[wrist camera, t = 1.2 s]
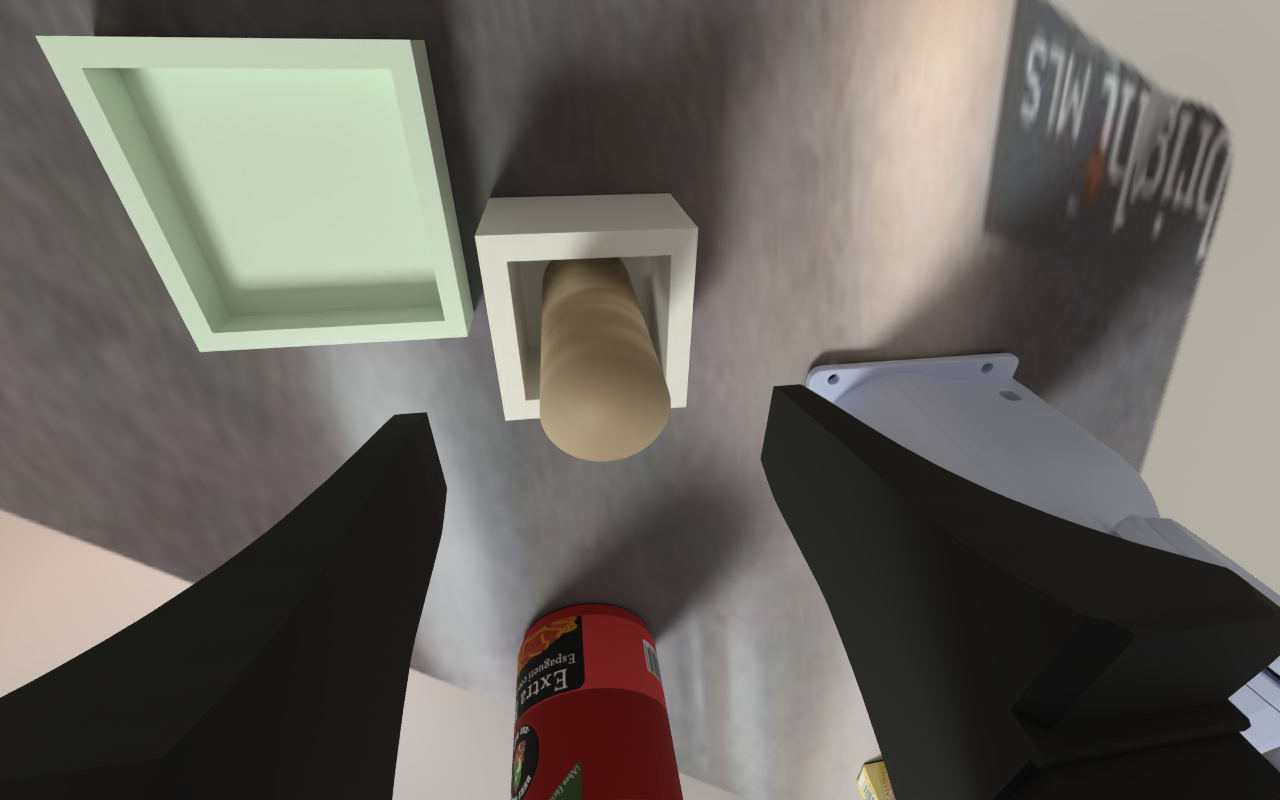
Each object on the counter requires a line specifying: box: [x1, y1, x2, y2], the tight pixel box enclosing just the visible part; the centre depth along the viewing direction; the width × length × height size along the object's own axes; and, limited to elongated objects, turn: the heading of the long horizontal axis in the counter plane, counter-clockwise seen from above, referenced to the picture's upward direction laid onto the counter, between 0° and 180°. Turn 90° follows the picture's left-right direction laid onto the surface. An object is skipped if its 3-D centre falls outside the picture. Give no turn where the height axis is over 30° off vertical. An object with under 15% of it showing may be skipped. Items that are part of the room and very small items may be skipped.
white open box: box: [475, 193, 698, 421], centre depth 17 cm, size 6×6×4 cm
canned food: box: [511, 604, 683, 800], centre depth 26 cm, size 8×8×11 cm
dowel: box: [540, 257, 671, 461], centre depth 15 cm, size 3×3×8 cm
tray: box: [36, 36, 474, 352], centre depth 15 cm, size 8×8×2 cm
